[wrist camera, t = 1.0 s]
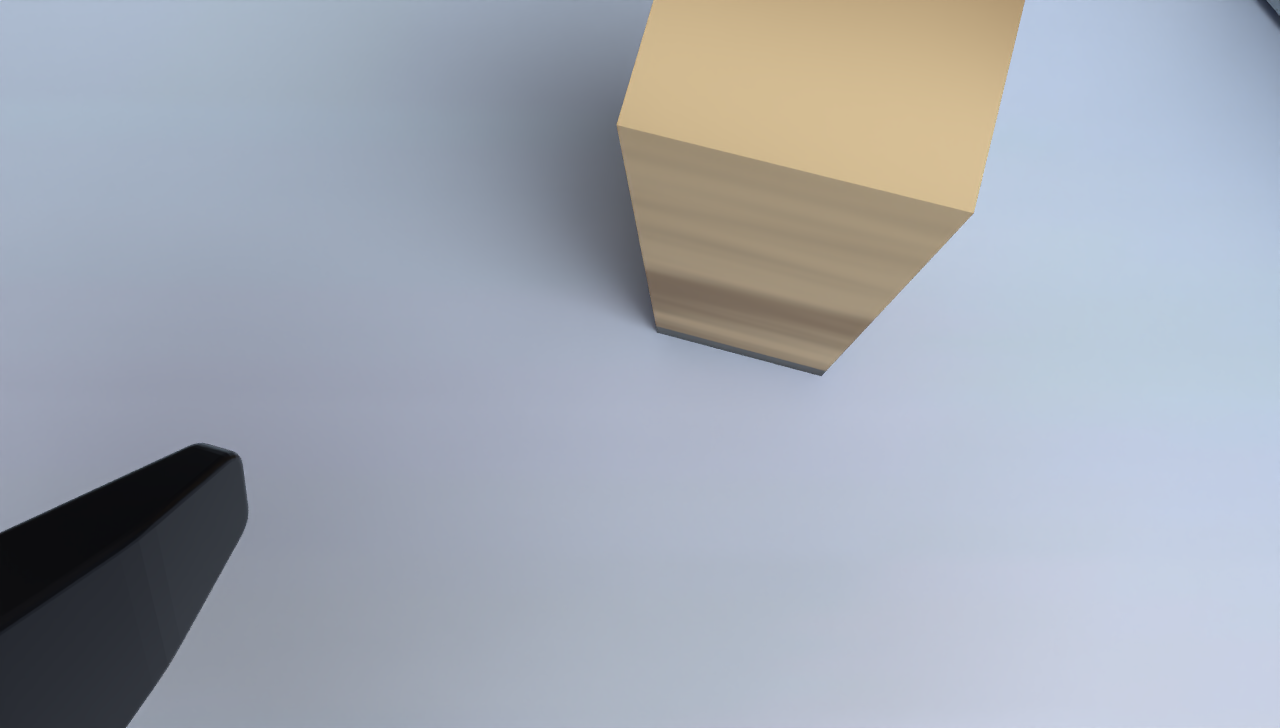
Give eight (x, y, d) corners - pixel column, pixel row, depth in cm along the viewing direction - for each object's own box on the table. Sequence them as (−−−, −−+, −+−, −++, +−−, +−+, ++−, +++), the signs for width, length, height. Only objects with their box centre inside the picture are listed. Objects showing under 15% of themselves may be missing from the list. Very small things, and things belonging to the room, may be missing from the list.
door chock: (821, 375, 23) (974, 213, 10) (657, 332, 23) (616, 124, 11) (872, 178, 23) (1071, -196, 11) (711, 138, 24) (731, -265, 11)
